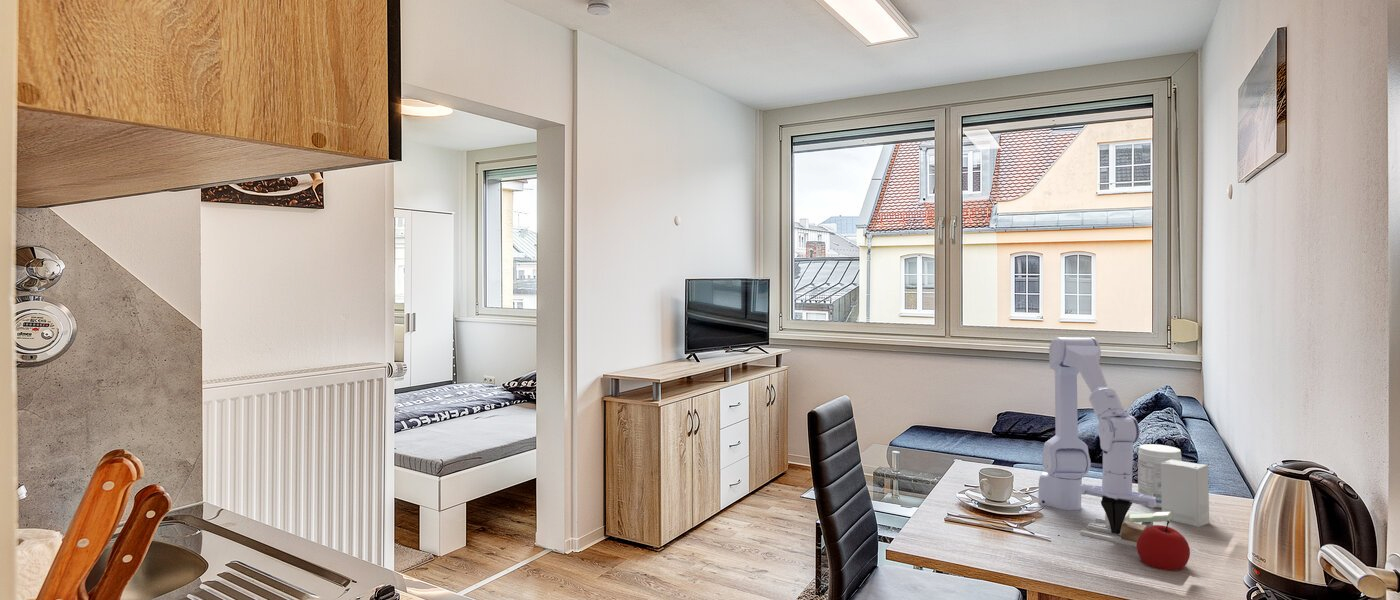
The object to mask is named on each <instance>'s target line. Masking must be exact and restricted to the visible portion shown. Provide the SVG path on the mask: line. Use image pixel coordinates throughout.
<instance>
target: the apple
mask: <svg viewBox="0 0 1400 600" xmlns="http://www.w3.org/2000/svg"><path fill="white" fill-rule="evenodd" d="M1169 524H1170V521H1168V520H1167V521H1166V525H1160V524H1155V525H1154V524H1153V526H1150V527H1147V528H1146V529H1145V530H1144V531H1143V532H1142V533H1141V535H1140V536H1139V538H1138V540H1137V545H1136V551H1137V556H1138V558H1139V559H1140V561H1141V562H1142V563H1143V564H1144V565H1146V566H1148V567H1151V568H1154V569H1156V570H1163V571H1167V572H1168V571H1169V572H1170V571H1171V572H1173V571H1174V572H1176V571H1177V572H1178V571H1181V570H1183V569H1184V568H1185V567H1186V565H1187V564H1188V562H1189V560H1190V556H1191V548H1190V545H1189V542H1188V541H1187V540H1186V538H1185V537H1184V535H1182V534H1181V533H1180V532H1179V531H1178V530H1176V529H1175V528H1172V527H1170V526H1169Z"/></svg>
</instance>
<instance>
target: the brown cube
mask: <svg viewBox="0 0 1400 600" xmlns="http://www.w3.org/2000/svg"><path fill="white" fill-rule="evenodd" d="M1146 528H1147V525H1142V523H1138V522H1133V523H1132V522H1127V521H1126V522H1125V523H1124V524H1123V525H1122V526H1121V536H1120V539H1124V540H1128V541H1133V542H1137V540H1138V538H1139V536H1140V535H1141V533H1142V532H1143V531H1144V530H1145V529H1146Z"/></svg>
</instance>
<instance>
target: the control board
mask: <svg viewBox="0 0 1400 600" xmlns="http://www.w3.org/2000/svg"><path fill="white" fill-rule="evenodd" d="M1095 522H1098V523H1104V524H1105V518H1102V517H1095ZM1141 524H1142V525H1147V527H1150V526H1153V525H1154V522H1141ZM1086 526H1087V527H1086V529H1088V530H1093V531H1098V532H1102V533H1106V534H1111V535H1115V536H1119V537H1121V532H1120V533H1119V534H1113V533H1111V528H1110V527H1108V526H1105V525H1103V524H1097V523H1093V522H1089V524H1087V525H1086ZM1079 533H1080V534H1079V535H1081V536H1086V537H1091V538H1094V539H1099V540H1103V541H1108V542H1112V543H1117V544H1123V545H1127V546H1132V547H1136V545H1137V542H1133V541H1128V540H1124V539H1121V538H1119V537H1115V536H1109V535H1105V534H1101V533H1095V532H1092V531H1091V532H1090V531H1087V530H1083V529H1081V530H1080V531H1079Z"/></svg>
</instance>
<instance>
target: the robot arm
mask: <svg viewBox="0 0 1400 600" xmlns="http://www.w3.org/2000/svg"><path fill="white" fill-rule="evenodd" d="M1048 346H1049V347H1048V348H1049V349H1048V354H1049V357H1048V358H1049V369H1051V370H1053V371H1054V407H1055V408H1054V412H1055V413H1054V415H1055V419H1054V421H1055V424H1054V425H1055V435H1053V436H1052V437H1051V438H1050V439H1048V440H1047V441H1045V442H1044V443H1043V451H1042V455H1041V462H1042V463H1041V464H1042V467H1043V469H1044V470H1045V471H1042V472H1041V474H1040V475H1039V479H1038V496H1037V498H1038V499H1037V500H1038V501H1037V503H1038V504H1039V505H1043V506H1048V507H1052V508H1056V509H1060V510H1065V511H1066V510H1067V511H1078V510H1082V496H1083V495H1088V496H1093V497H1097V498H1101V500H1100V504H1101V507H1102V508H1103V510H1104V512H1105V513H1106V515H1107V517H1108V520H1109V524H1110V528H1111V533H1113V534H1112V535H1115V534H1119V533H1120V532H1121V526H1122V523H1123V520H1124V518H1125V516H1126V514H1127V513H1129V510H1130V508H1131V506H1133V504H1135V505H1136V504H1137V505H1141V506H1146V507H1148V508H1153V509H1154V508H1156V507H1155V506H1156V497H1153V496H1148V495H1144V494H1140V493H1138V491H1137V492H1136V491H1133V467H1134V466H1133V462H1134V444H1136V443H1138V440H1139V438H1140V434H1141V433H1140V432H1141V430H1140V425H1139V423H1138V420H1137V419H1136V418H1135V417H1134V416H1132V415H1131V414H1130V413H1129V412H1126V411H1125V409H1124V408H1125V407H1124V406H1123V404H1122V402H1121V401H1120V398H1119V396H1118V394H1117V392H1116V390H1114V389H1112V388H1111V387H1110V388H1109V387H1108V385H1107V381H1106V379H1105V376H1104V373H1103V371H1102V368H1101V364H1100V359H1101V353H1102V352H1101V351H1102V350H1101V345H1100V343H1099V341H1098V340H1097V338H1095V337H1093V336H1089V337H1060V336H1055V337H1053V340H1052V341H1051V342H1050V344H1049V345H1048ZM1079 373H1080V374H1081V377H1082V378H1083V380H1084V382H1085V384H1086V385H1087V387H1088V388H1089V391H1090V392H1091V394H1090V395H1089V399H1088V400H1089V402H1090V405H1091V406H1092V409H1093V411H1094V414H1095V415H1096V419H1097V421H1098V426H1097V434H1098V437H1099V446H1100V449H1101V450H1102V474H1101V475H1102V476H1101V477H1102V478H1101V480H1102V482H1101V483H1102V484H1101V485H1092V484H1085V483H1083V481H1082V478H1085V477H1086V475H1087V474H1088V473H1089V471H1090V470H1091V467H1092V465H1091V463H1092V462H1091V458H1090V453H1089V446H1088V445H1087V444H1086V442H1084V441H1083V440H1082V439H1080V438H1079V431H1078V430H1079V429H1078V428H1079V427H1078V426H1079V423H1078V419H1079V415H1078V374H1079ZM1111 533H1110V534H1111Z"/></svg>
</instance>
